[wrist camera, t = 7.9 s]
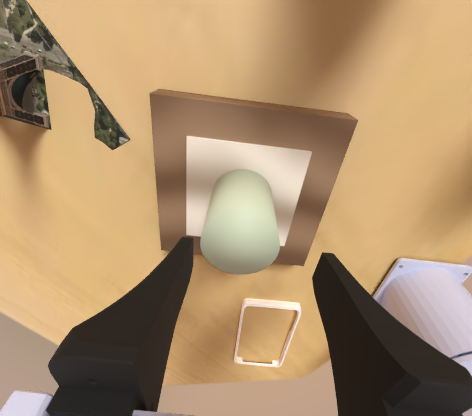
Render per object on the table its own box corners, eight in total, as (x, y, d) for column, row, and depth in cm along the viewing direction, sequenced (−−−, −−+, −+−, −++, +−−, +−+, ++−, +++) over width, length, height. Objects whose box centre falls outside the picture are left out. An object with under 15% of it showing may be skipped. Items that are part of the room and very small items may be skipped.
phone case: (242, 294, 31) (233, 354, 39) (242, 304, 30) (233, 363, 38) (301, 299, 31) (279, 358, 39) (303, 309, 30) (280, 368, 38)
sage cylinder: (264, 224, 21) (268, 279, 16) (209, 215, 21) (196, 268, 16) (279, 175, 19) (290, 222, 14) (216, 163, 18) (204, 207, 13)
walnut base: (299, 251, 26) (304, 268, 24) (166, 236, 26) (160, 252, 24) (348, 113, 18) (359, 121, 16) (159, 89, 18) (148, 94, 16)
